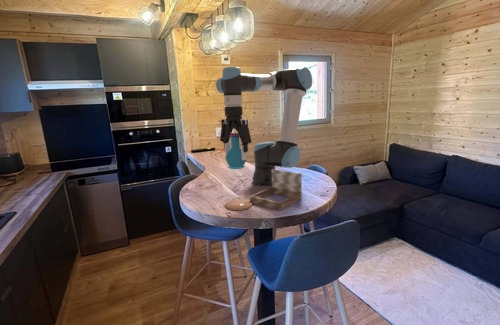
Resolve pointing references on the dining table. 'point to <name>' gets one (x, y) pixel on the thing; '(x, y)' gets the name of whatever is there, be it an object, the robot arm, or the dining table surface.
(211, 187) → the dining table surface
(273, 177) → the frame
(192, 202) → the dining table surface
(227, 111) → the robot arm
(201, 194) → the dining table surface
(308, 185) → the dining table surface
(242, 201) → the saucer
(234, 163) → the perfume bottle
